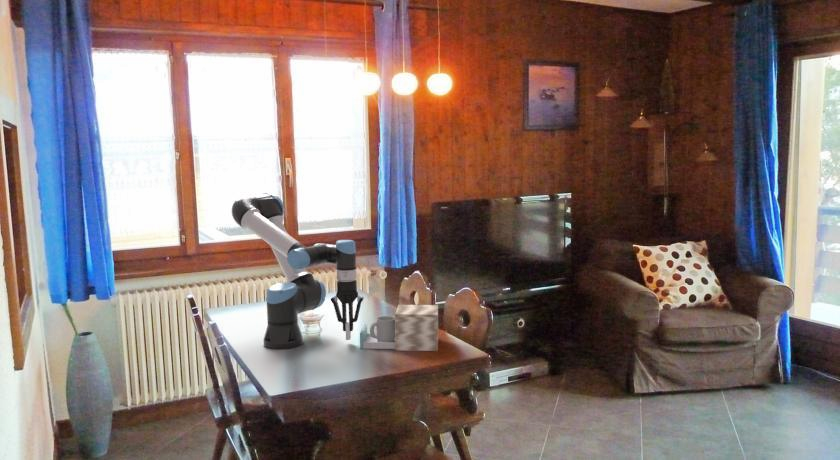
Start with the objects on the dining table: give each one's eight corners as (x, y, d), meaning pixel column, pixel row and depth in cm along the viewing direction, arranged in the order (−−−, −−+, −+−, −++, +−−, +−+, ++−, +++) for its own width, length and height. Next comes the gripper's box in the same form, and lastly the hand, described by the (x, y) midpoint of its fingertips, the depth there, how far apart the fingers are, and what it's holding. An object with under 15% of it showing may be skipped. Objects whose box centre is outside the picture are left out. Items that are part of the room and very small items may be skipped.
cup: (397, 342, 252) (397, 319, 251) (372, 344, 249) (372, 322, 248) (392, 337, 259) (392, 315, 258) (367, 339, 256) (367, 317, 255)
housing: (395, 350, 247) (395, 314, 245) (398, 338, 262) (398, 304, 260) (437, 350, 246) (437, 314, 244) (438, 339, 261) (438, 305, 259)
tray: (360, 348, 248) (359, 333, 248) (364, 338, 261) (364, 324, 261) (409, 349, 248) (409, 333, 247) (411, 339, 260) (411, 324, 260)
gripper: (328, 281, 248) (330, 341, 251) (362, 281, 248) (363, 341, 251) (331, 278, 256) (333, 336, 259) (364, 278, 255) (366, 336, 258)
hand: (348, 339), depth 255 cm, fingers closed
